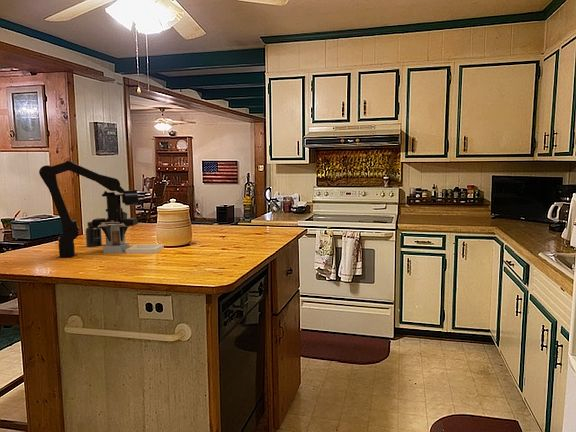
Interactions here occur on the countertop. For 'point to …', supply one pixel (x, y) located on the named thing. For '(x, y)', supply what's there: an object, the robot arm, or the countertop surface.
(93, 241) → the supplement bottle
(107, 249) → the grey square peg base
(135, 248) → the tray
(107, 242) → the cup
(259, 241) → the countertop surface
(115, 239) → the dowel
